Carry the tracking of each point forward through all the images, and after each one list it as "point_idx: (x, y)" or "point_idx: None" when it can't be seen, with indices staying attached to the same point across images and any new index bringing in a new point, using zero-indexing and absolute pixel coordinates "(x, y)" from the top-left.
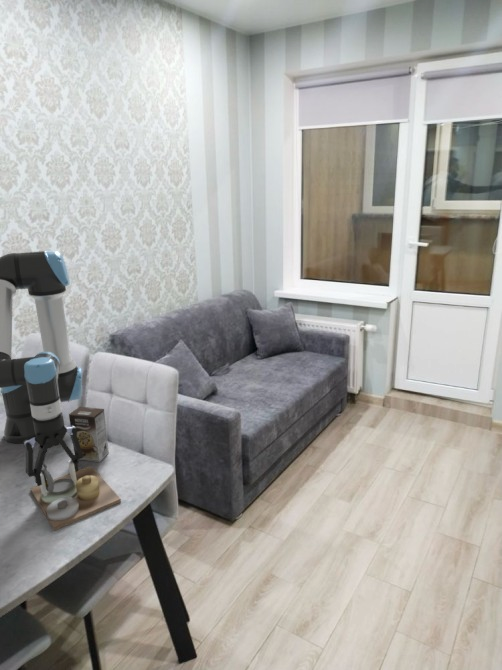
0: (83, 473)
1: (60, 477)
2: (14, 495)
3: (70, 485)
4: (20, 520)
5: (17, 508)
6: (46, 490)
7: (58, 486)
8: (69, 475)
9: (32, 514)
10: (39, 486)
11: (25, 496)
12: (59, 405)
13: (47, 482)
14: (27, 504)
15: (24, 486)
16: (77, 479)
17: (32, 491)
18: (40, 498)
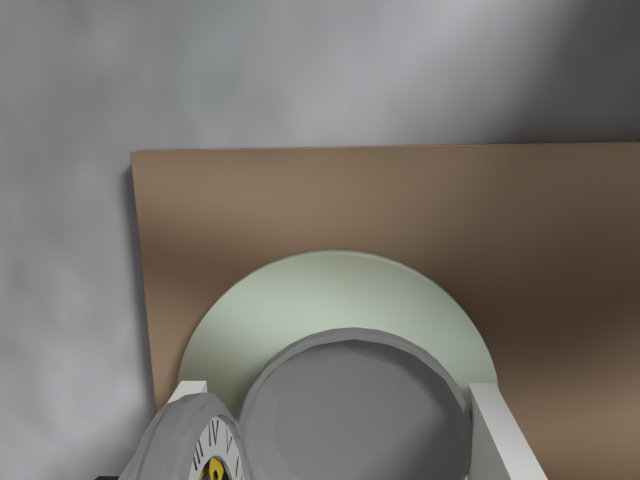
0: (626, 239)
1: (418, 156)
2: (11, 122)
3: (428, 463)
4: (24, 477)
5: (18, 327)
6: (235, 339)
7: (333, 402)
8: (503, 180)
9: (105, 466)
10: (208, 183)
11: (91, 202)
12: None
13: (221, 459)
14: (90, 326)
15: (105, 25)
16: (533, 304)
17: (139, 222)
18: (177, 372)
